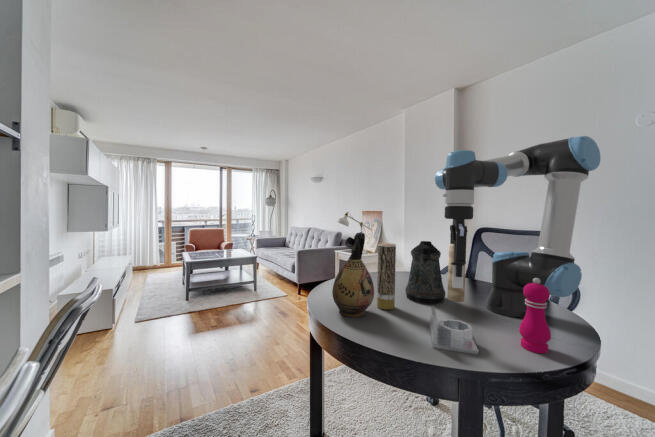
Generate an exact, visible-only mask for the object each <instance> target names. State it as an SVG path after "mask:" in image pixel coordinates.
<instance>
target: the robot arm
mask: <svg viewBox="0 0 655 437" xmlns="http://www.w3.org/2000/svg"><path fill="white" fill-rule="evenodd" d="M476 158H477V157H476V152H475V151H473V150H470V149H469V150H468V149H466V150H465V149H461V150H454V151H451V152H449V153H448V154H447V156H446V160H445V167H444V168H441V169H439V170H438V171H436V173H435V176H434V181H435V185H436V187H437V188H439V189H440V190H445V193H443V194H442V197H443V198H445V199H444V204H445V207H444V218H445V219H447V220H452V222H451V224H450V225H449V231H450V236H449V237H450V239H449V240H450V241H449V242H450V243H449V244H454V263H451V265H453V283H452V287H453V288H462V289H463V279H464V264H465V265H466V264H467V261H466V260H467V259H466V257H467V256H466V255H467V235H468V228H467V227H468V226H467V225H465V224H466V223H465V222H466V220H473V218H474V207H473V206H472V205H474V204H475V188H483V187H484V188H485V187H486V188H496V187H500V186H502V185H503V184H504V183H505V182H506V181H507V179H508V177H513V178H516V177H517V178H519V177H525V176H544V179H545V180H547V181H548V184H547V191H546V197H545V202H544V209H543V215H542V220H541V227H540V232H539V238H538V245H537V247H536V248H535V249H533V250H532V251H531V254H530V252H529V251H524V250H523V251H519V250H517V251H514V250H513V251H510V250H509V251H496V252H495V253H493V256H492V262H491V263H492V269H491V270H492V271H491V273H492V275H491V290H490V291H489V295H488V296H487V299H486V301H485V302H486V303H485V305H486V306H485V307H486V308H487V309H488V310H489V311H491V312H493V313H496V314H499V315H502V316H507V317H513V318H524V317H525V315H526V310H527V305H526V304H525V299H527V298H526V297H525V295H524V294H523V289H524V287H525V285H527V284H529V283H533V279H534V278H539V279H540V281H541V282H540V284H542V285H544V286H546V287H547V288H548V290H549V292H550V296H555V297H559V298H566V297H569V296H571V295H572V294H574V293H575V292H576V291H577V289H578V288H579V286H580V284H581V282H582V278H583V277H582V274H583V273H582V272H581V271H582V269H581V267H580V265H578V264H576V262H575V261H576V260H575V257H574V256H573V254H571V245H572V241H573V240H572V239H573V235H574V234H573V233H574V228H575V223H576V222H575V221H576V215H577V209H578V203H579V199H580V198H579V197H580V191H581V186H582V182H584V181H585V180H587V179H588V178H589V174H590V173H589V172H591V171H594V170H596V169H598V167H599V166H600V164H601V151H600V148H599V146H598V144H597V142H596V141H595V139H593V138H592V137H590V136H586V135H581V136H571V137H570V138H565V139H559V140H555V141H548V142H545V143H540V144H535V145H533V146H529V147H527V148H523V149H520V150H516V151H513V152H510V153H509V154H507V155H504V156H500V157H495V158H491V159H485V160H479V159H476Z"/></svg>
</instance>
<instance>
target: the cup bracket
mask: <svg viewBox="0 0 655 437" xmlns="http://www.w3.org/2000/svg"><path fill="white" fill-rule="evenodd" d="M429 319H430V320H429V321H430V322H429V323H430V324H429V331H430V332H429V333H430V338H431V339H430V340H431V345H432V348H433V349H439V350H445V351H451V352H459V353H466V354H471V355H472V354H473V355H479V353H480V352H479V349H478V347H477V345H476V342H475V341H474V338H473V331H474V329H473V327H472V326H471V324H470V323H467V322H465V321H463V320H460V319H452V318H451V319H450V318H445V319H441V320H438V316H437V313H436V309H435V306H434V305H430V318H429Z"/></svg>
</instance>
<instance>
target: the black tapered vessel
mask: <svg viewBox="0 0 655 437" xmlns="http://www.w3.org/2000/svg"><path fill="white" fill-rule="evenodd" d="M441 254H442V253H441V251H440V250H439V249H438V248H437V247H436V246H435V245H433V244H432V241H431V240H430V241H427V240H421V241H420V242H419V244H417V245H416V246H415V247H414V248H412V249H411V250H410V255H411V258H412V259H411V263H410V268H409V275H408V276H409V277H408V282H407V285H406V286H405V288H404V289H405V294H406V299H407V300H409V301H412V302H414V303H417V304H418V303H419V304H424V305H438V304H443V303H444V301H445V298H446V291H445V288H444V284H443V278H442V273H441V265H440V258H441Z"/></svg>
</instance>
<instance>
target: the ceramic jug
mask: <svg viewBox="0 0 655 437" xmlns="http://www.w3.org/2000/svg"><path fill="white" fill-rule="evenodd" d="M365 241H366V235H365V233H364V232H362V231H360V232H356V233H355V235H354V238H352V237H351V236H350V237H349V236H348V237H347V238H346V240H345V241H344V245H345V246H346V247H347V248H348V249H350V250H351V254H350V256H349V257H348V259H347V260H346V261H345V263H344V264H343V266H342V267H341V268H340V270H339V271H338V273H337V275H336V277H335V279H334V281H333V284H332V285H333V286H332V290H331V291H332V292H331V295H332V299H333V301H334V303H335V306H336V307H337V308H338V313H339V314H340V315H342V316H343V317H352V318H357V317H362V316H364V314H365V312H366V311H367V309H368V308H369V307H370V306H371V304H372V303H373V300H374V296H375V287H374V282H373V278H372V276H371V275H370V272H369V270H368V268H367V267H366V265H365V263H364V261H363V260H362V258H363V252H364V247H365Z"/></svg>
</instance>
